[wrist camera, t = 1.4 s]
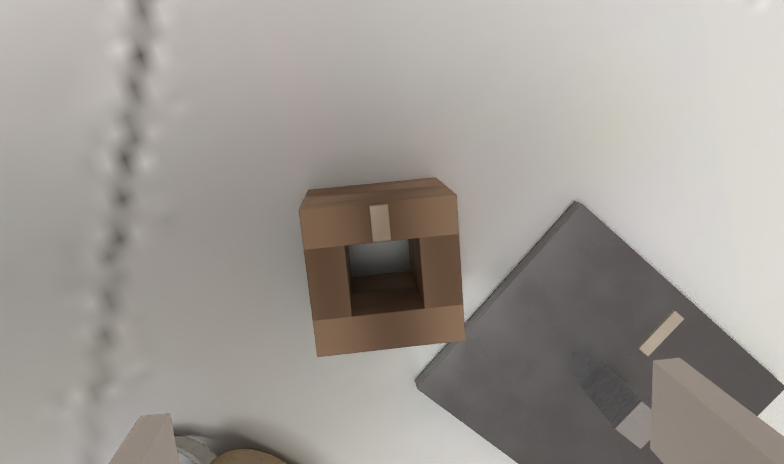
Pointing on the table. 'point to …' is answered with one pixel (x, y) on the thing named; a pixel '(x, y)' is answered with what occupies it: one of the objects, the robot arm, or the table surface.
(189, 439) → the ceramic mug
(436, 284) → the brown cardboard box
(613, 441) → the metal panel
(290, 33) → the table surface
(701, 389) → the robot arm
